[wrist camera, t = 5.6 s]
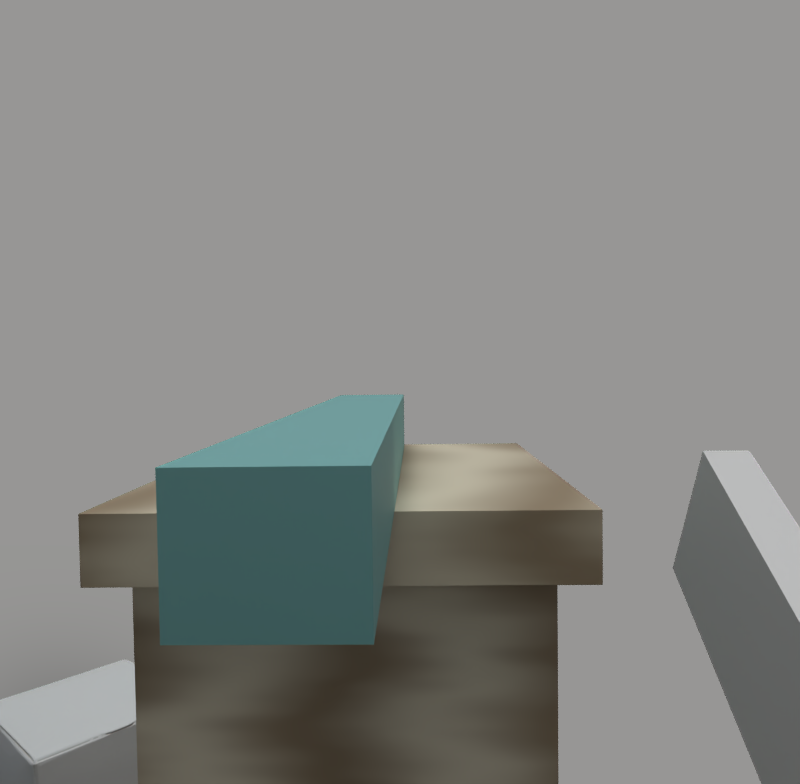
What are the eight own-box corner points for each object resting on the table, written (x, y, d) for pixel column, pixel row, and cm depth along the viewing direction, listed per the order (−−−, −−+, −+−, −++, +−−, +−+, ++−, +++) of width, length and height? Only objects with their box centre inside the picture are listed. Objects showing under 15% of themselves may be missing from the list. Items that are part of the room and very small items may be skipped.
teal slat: (160, 645, 10) (155, 467, 10) (341, 447, 34) (340, 395, 34) (374, 644, 10) (371, 465, 10) (404, 446, 34) (403, 394, 34)
